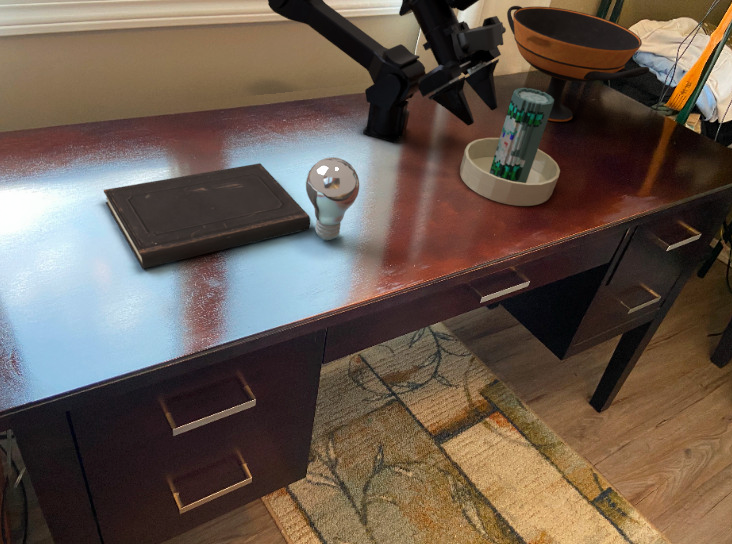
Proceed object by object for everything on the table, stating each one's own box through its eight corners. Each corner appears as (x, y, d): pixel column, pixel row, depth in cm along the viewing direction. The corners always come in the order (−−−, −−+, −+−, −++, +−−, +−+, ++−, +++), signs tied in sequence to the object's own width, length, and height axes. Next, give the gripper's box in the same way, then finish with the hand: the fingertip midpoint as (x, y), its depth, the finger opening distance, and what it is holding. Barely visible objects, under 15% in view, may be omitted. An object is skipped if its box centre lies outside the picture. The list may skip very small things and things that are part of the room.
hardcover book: (105, 204, 83) (103, 189, 82) (260, 176, 94) (260, 162, 93) (143, 271, 74) (141, 256, 72) (309, 231, 85) (311, 217, 84)
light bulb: (332, 260, 81) (342, 180, 73) (291, 239, 83) (296, 159, 75) (361, 237, 86) (373, 161, 78) (320, 218, 88) (328, 142, 80)
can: (481, 175, 104) (506, 89, 94) (508, 170, 107) (535, 86, 97) (504, 193, 100) (532, 105, 91) (531, 187, 103) (561, 102, 93)
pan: (450, 187, 100) (455, 166, 98) (470, 149, 112) (476, 129, 109) (545, 216, 97) (554, 194, 95) (556, 174, 109) (564, 154, 107)
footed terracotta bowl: (452, 83, 137) (471, -1, 125) (533, 75, 149) (558, -3, 137) (566, 158, 115) (602, 64, 104) (650, 141, 127) (691, 56, 116)
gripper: (453, 8, 85) (501, 110, 88) (506, -10, 98) (546, 80, 101) (396, 48, 93) (442, 141, 96) (452, 26, 106) (491, 109, 109)
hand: (483, 116), depth 100 cm, fingers open, 9 cm apart
